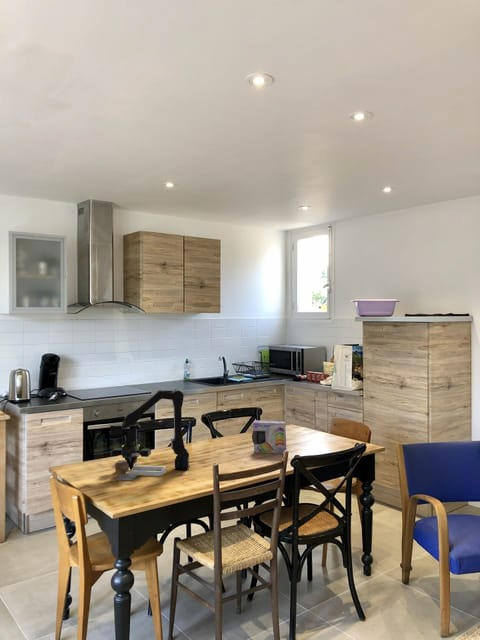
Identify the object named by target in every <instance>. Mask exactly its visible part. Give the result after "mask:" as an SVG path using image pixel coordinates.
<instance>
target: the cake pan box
mask: <svg viewBox="0 0 480 640" xmlns="http://www.w3.org/2000/svg"><path fill="white" fill-rule="evenodd" d="M252 426H253V427H252V428H253V429H252V433H251V440H252V442H253V443H252V444H253V452H254V453H258V452H259V453H260V454H261V453H263V454H280V455H281V454H283V451H284V450H287V434H286V433H287V432H286V421H278V420H277V421H276V420H257V419H255V420H254V421H253V422H252ZM259 453H258V454H259ZM283 455H284V454H283Z"/></svg>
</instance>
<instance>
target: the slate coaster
mask: <svg viewBox="0 0 480 640" xmlns="http://www.w3.org/2000/svg"><path fill="white" fill-rule="evenodd" d="M138 476H139V475H135V474H128V473H125V474H123V473H120V474H119V476H117V477H116V478H115V481H121V482H122V481H123V482H124V481H126V482H133V481H134V480H135V479H136V478H137V477H138Z"/></svg>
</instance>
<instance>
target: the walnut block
mask: <svg viewBox="0 0 480 640" xmlns="http://www.w3.org/2000/svg"><path fill="white" fill-rule="evenodd" d="M114 465H115V468H114V469H115V471H114V472H115V473H114V474H127V473H128V470H130V468H129V465H128V463H127V461H125V459H124V460H123V459H121V460H120V459H119V460H117V461H116V462H115V463H114Z"/></svg>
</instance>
